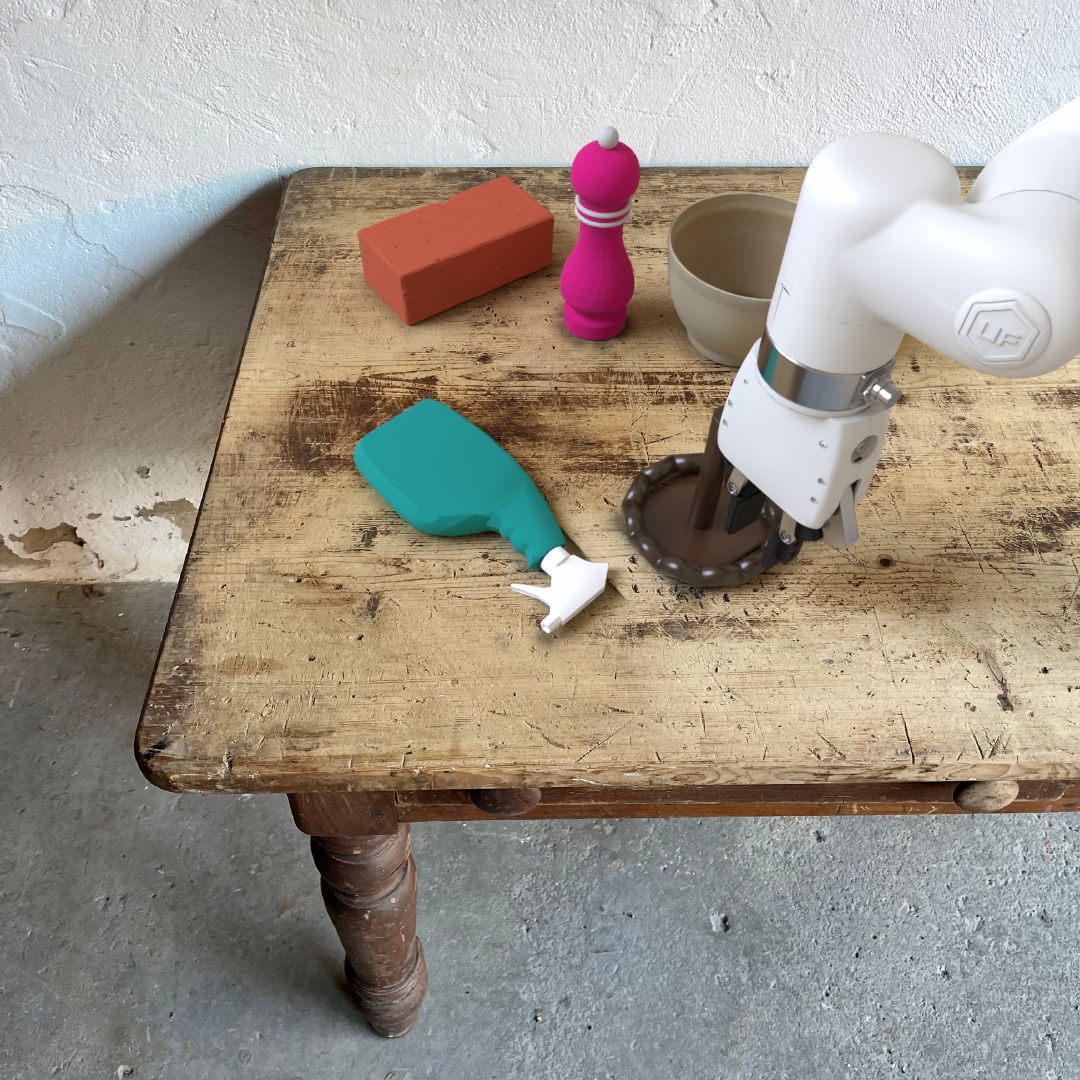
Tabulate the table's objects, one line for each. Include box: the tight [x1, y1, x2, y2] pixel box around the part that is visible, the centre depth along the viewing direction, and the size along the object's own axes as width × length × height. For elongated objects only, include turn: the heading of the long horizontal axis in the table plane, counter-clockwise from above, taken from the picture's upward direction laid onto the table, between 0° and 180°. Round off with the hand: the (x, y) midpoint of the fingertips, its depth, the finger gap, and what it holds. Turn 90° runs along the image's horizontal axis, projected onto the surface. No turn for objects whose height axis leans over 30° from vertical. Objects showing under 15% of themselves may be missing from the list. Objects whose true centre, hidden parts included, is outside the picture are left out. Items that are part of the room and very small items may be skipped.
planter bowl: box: [667, 191, 798, 368], centre depth 84 cm, size 16×16×11 cm
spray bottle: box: [353, 398, 609, 634], centre depth 73 cm, size 3×11×24 cm
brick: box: [356, 175, 555, 326], centre depth 92 cm, size 18×9×6 cm, turn 125°
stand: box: [641, 405, 769, 587], centre depth 68 cm, size 9×9×13 cm
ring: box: [620, 452, 783, 588], centre depth 72 cm, size 13×13×2 cm
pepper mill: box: [559, 125, 641, 341], centre depth 82 cm, size 7×7×20 cm
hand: (759, 540), depth 67 cm, fingers open, 3 cm apart
